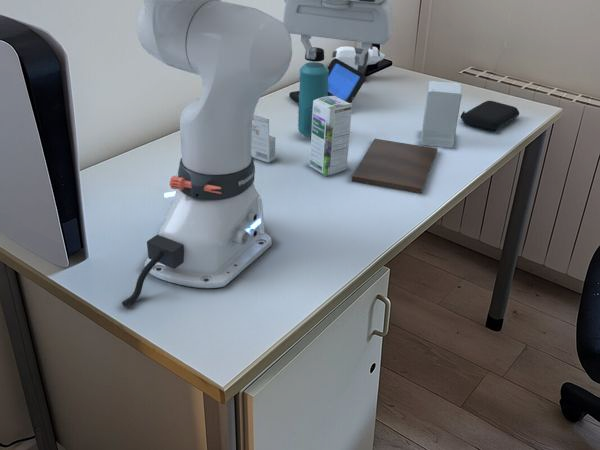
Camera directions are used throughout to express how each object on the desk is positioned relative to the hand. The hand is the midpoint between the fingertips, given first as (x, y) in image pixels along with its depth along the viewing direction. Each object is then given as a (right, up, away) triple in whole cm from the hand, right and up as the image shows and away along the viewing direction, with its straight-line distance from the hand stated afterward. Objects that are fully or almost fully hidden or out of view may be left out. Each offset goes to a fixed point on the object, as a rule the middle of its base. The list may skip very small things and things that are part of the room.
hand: (334, 61), depth 128 cm
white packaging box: (+24, -12, +26) cm, 37 cm away
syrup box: (-1, -19, +12) cm, 23 cm away
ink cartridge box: (-17, -16, +16) cm, 28 cm away
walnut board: (+13, -19, +13) cm, 26 cm away
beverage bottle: (-4, -11, +25) cm, 28 cm away
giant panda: (+9, +10, +61) cm, 62 cm away
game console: (0, -1, +43) cm, 43 cm away
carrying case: (+39, -6, +37) cm, 54 cm away
